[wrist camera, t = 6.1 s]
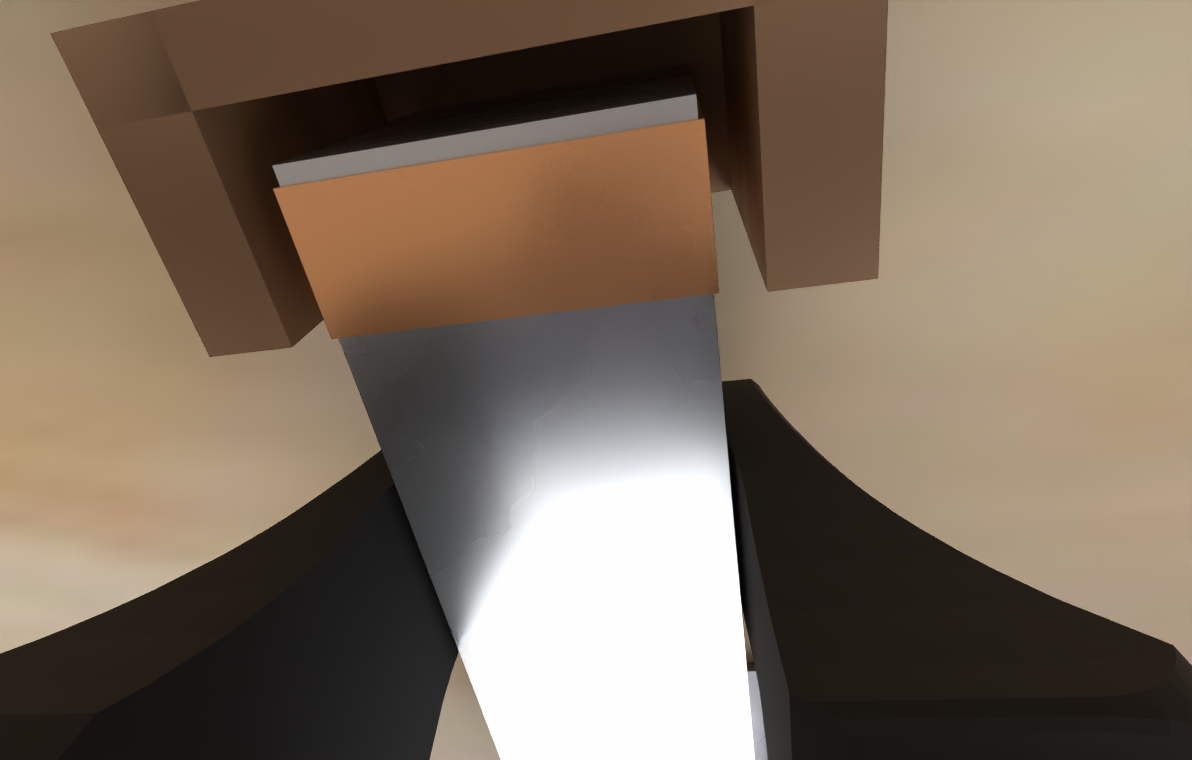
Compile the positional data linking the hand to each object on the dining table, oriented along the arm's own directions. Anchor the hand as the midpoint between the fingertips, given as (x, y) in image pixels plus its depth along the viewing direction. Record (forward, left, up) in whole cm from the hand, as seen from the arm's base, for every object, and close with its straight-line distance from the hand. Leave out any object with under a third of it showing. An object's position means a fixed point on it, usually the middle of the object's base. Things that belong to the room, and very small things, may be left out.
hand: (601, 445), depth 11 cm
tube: (-1, 0, -1) cm, 2 cm away
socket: (+5, 0, -1) cm, 5 cm away
